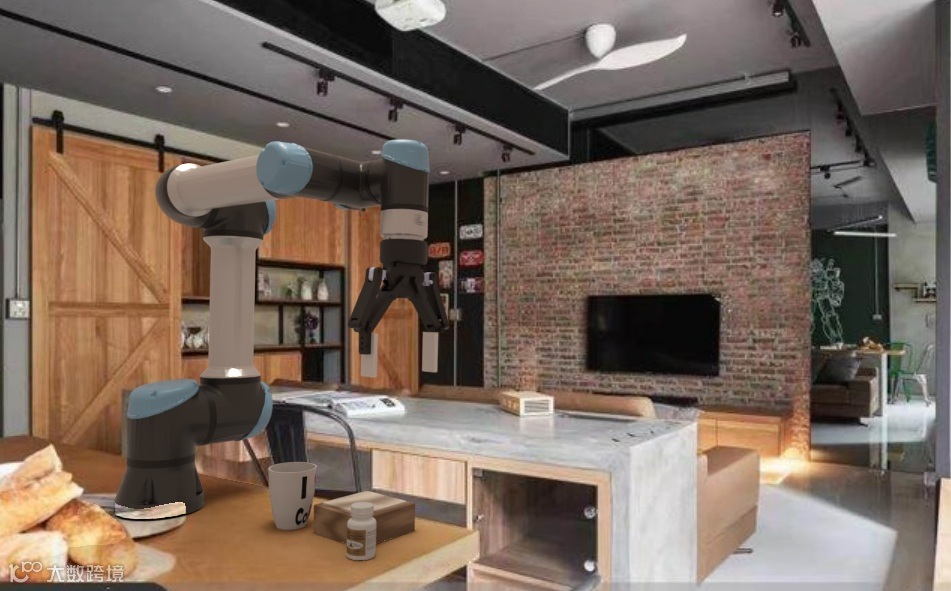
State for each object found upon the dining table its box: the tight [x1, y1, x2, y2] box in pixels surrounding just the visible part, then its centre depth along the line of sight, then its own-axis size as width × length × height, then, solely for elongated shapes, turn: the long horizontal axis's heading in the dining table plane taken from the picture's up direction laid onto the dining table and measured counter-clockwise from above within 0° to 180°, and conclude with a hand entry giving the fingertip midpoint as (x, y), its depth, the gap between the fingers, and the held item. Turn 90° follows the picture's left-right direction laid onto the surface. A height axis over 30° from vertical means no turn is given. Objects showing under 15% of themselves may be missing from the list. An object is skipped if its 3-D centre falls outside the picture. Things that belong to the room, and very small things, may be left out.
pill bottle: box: [346, 502, 377, 561], centre depth 100 cm, size 4×4×8 cm
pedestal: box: [312, 490, 416, 544], centre depth 112 cm, size 12×12×5 cm
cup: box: [267, 461, 318, 531], centre depth 114 cm, size 8×8×10 cm
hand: (400, 374), depth 104 cm, fingers open, 13 cm apart
